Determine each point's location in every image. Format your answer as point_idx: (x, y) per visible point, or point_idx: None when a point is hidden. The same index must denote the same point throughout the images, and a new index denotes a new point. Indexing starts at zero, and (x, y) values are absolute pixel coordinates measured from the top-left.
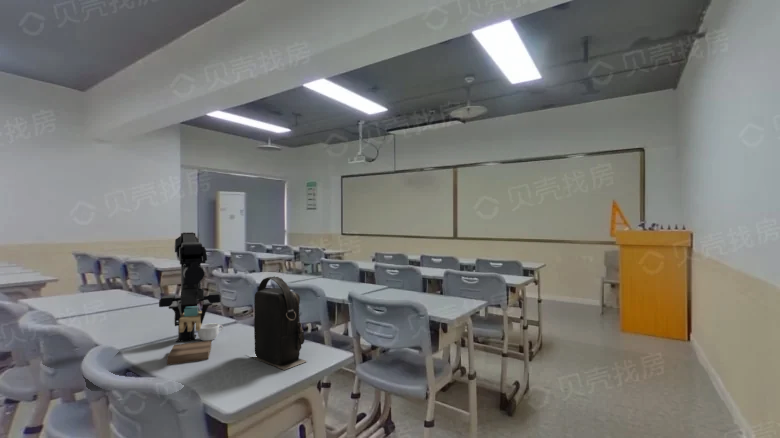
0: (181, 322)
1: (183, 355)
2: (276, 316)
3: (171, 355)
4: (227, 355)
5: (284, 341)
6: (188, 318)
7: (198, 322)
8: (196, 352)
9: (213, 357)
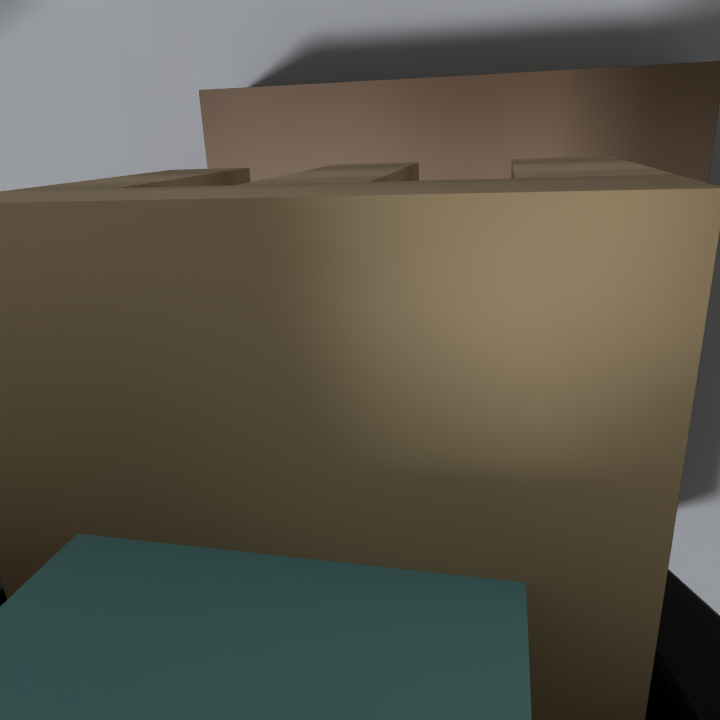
0: (591, 180)
1: (500, 73)
2: None
3: (666, 110)
4: (69, 157)
5: None
6: (301, 198)
7: (72, 184)
8: (342, 124)
9: (196, 145)
